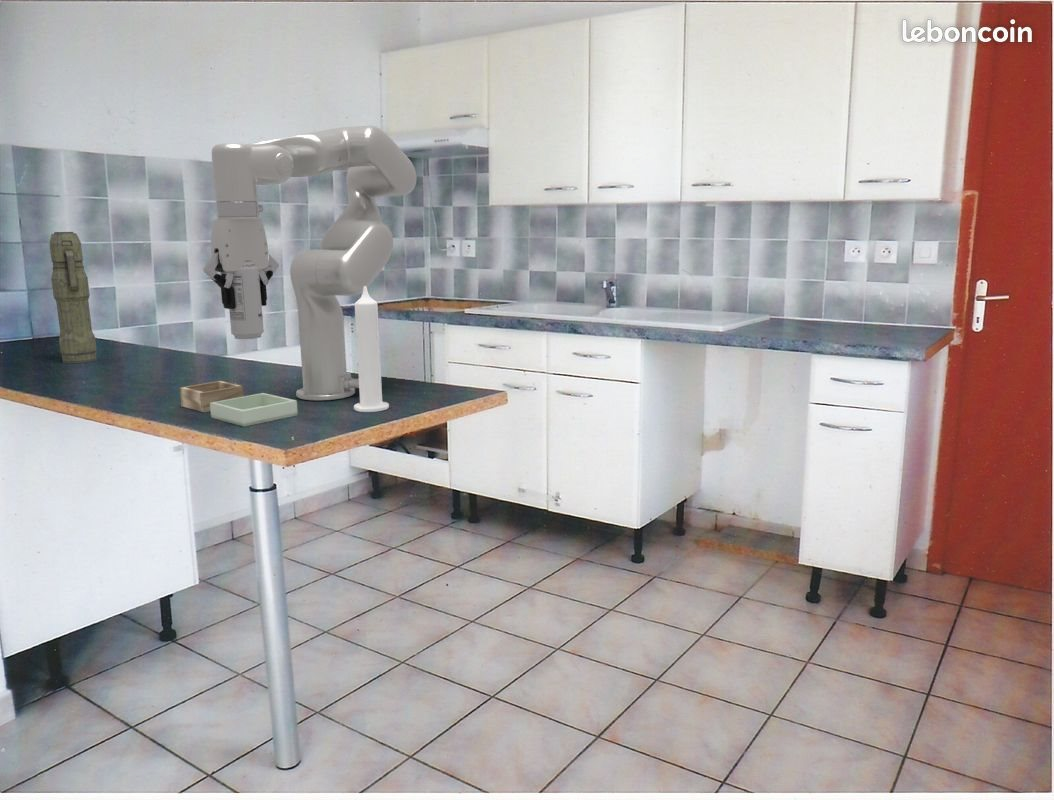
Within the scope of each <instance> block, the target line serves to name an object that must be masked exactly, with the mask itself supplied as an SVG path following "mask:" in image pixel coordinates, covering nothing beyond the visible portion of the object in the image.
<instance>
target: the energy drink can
mask: <svg viewBox="0 0 1054 800" xmlns="http://www.w3.org/2000/svg"><path fill="white" fill-rule="evenodd" d="M251 261H252V260H245V263H244V264H243V265H241V266H240V267H239V269H238V271H237V272H235V273H234V276H233V280H232V283H231V288H233V289H234V294H235V306H236V307H235V309H228V310H229V321H230V332H231V335H233V336H234V339H237V340H253V339H259V338H262V334H263V333H264V330H265V329H264V318H263V308H262V307H263V306H262V303H261V291H260V278H259V269H258V267H257V266H256V265H255V264H254V263H252V262H251Z"/></svg>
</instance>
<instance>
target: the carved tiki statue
mask: <svg viewBox="0 0 1054 800" xmlns="http://www.w3.org/2000/svg"><path fill="white" fill-rule="evenodd" d="M82 248H83V247H82V243H81V240H80V238H79V236H78V233H75V232H74V231H57V232H54V233H51V234H50V239H49V252H50V258H51V263H52V274H51V277H50V278H51V279H50V280H51V285H52V294H53V295H52V296H53V299H54V301H55V302H56V303H55V304H56V310H57V311H56V312H57V318H58V326H59V338H58V343H59V350H60V351H59V353H60V354H61V358H62V360H61V361H62V362H61V363H63V364H71V365H72V364H84V363H85V364H86V363H91V362H92V363H93V362H96V361H97V360H98V357H97V344H96V342H97V341H96V336H95V334H94V332H93V328H92V327H93V326H92V319H91V312H90V311H91V309H90V303H89V299H90V286H89V279H88V275H87V274H86V271H85V267H84V265H83V261H84V258H83V250H82Z"/></svg>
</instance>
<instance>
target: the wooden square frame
mask: <svg viewBox="0 0 1054 800" xmlns="http://www.w3.org/2000/svg"><path fill="white" fill-rule="evenodd" d="M179 396H180V403H181V404H180V406H181V407H182V408H183V407H184V408H186V409H190V410H194V411H199V412H201V413H209V412H211V411H210V403H211V402H217V401H222V400H227V399H233V398H238V397H244V396H245V395H244V387H243V385H241V384H236V383H233V382H232V383H231V382H227V381H223V380H217V381H212V382H210V381H209V382H204V383H199V384H193V385H187V386H181V387H179Z"/></svg>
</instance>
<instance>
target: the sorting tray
mask: <svg viewBox="0 0 1054 800" xmlns="http://www.w3.org/2000/svg"><path fill="white" fill-rule="evenodd" d="M209 412H210V418H212V419H214V420H215V419H216V420H218V421H222V422H226V423H229V424H233V425H235V426H236V425H237V426H240V427H243V428H244V427H249V426H254V425H258V424H263V423H268V422H272V421H273V422H274V421H278V420H282V419H287V418H291V417H296V416H298V415H299V413H298V401H297V400H296V399H291V398H288V397H285V396H284V397H283V396H278V395H275V394H271V393H270V394H269V393H266V392H261V393H254V394H250V395H244V397H238V398H233V399H227V400H222V401H217V402H211V403H210V411H209Z"/></svg>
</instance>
